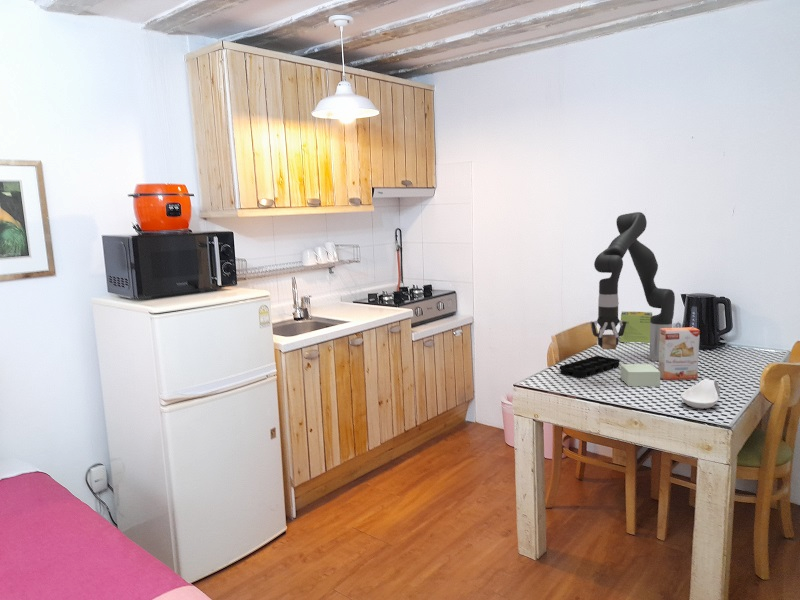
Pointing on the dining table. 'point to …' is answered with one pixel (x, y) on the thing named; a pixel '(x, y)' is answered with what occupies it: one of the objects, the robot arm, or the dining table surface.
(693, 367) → the cracker box
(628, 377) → the stacking base
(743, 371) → the dining table surface
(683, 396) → the spoon rest
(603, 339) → the walnut cube
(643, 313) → the protein box
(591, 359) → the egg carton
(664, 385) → the dining table surface
